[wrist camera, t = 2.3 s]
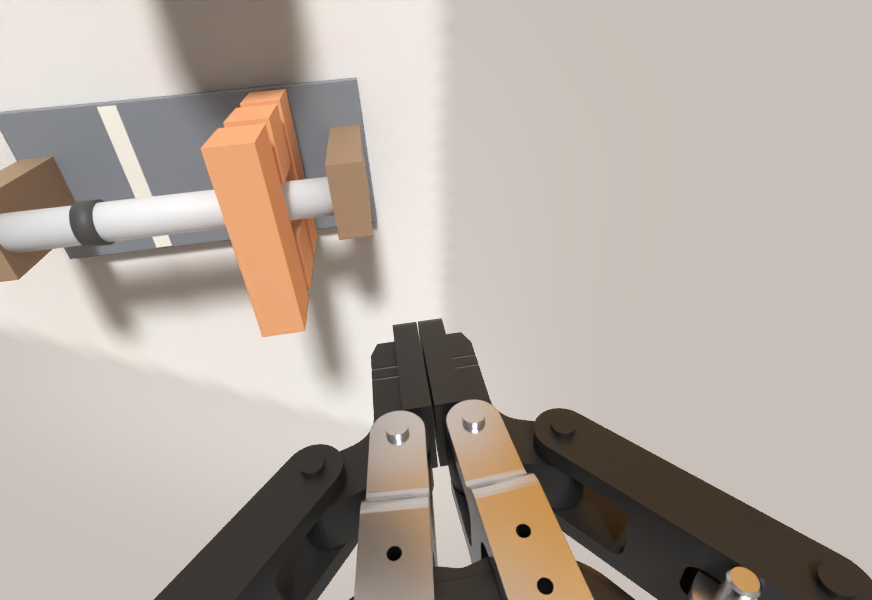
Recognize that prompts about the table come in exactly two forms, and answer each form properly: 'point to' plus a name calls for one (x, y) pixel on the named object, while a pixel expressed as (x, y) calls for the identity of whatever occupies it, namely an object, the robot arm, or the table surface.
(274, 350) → the table surface
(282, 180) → the collar
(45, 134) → the pipe stand
